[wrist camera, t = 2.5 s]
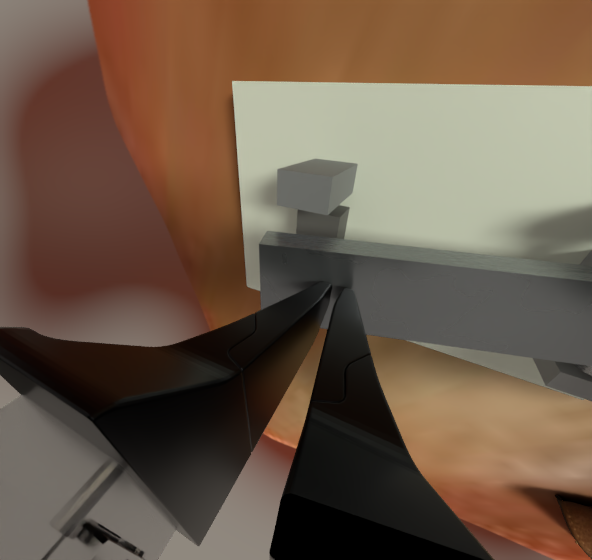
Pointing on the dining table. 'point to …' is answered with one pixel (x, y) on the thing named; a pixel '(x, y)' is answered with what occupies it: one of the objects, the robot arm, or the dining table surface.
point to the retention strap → (442, 294)
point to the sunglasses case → (578, 523)
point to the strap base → (423, 177)
